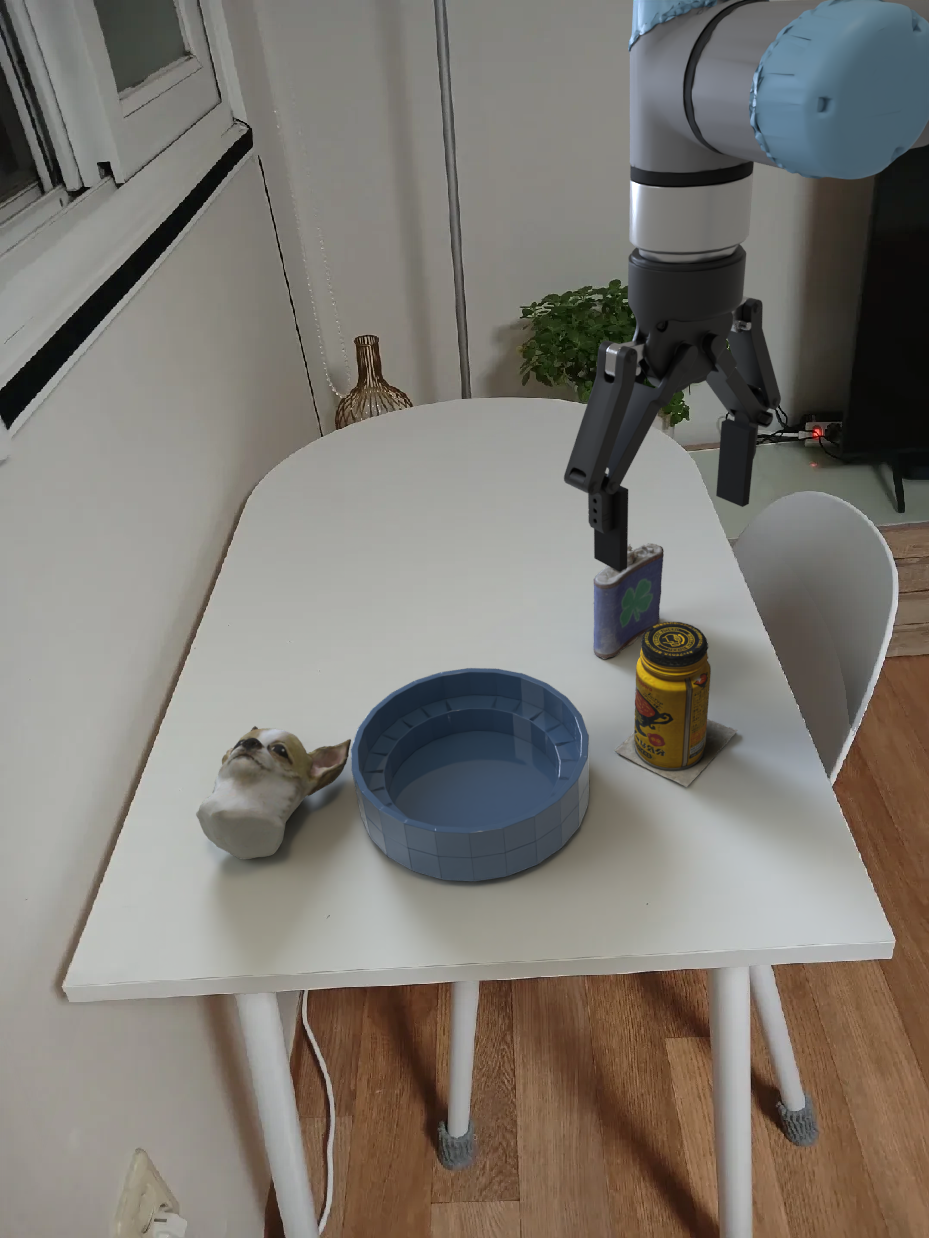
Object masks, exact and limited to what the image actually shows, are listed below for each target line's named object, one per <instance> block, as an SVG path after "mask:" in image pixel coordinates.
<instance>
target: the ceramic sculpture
mask: <svg viewBox="0 0 929 1238" xmlns="http://www.w3.org/2000/svg"><path fill="white" fill-rule="evenodd" d="M351 742H352V738H349V739H347V740H345V741H342V742H341V743H339V744H335V745H328V746H327V745H324V746H320V747H317V748H315V749H314V750H313V751H310V752H307V749H306V748H305V746H304V744H303V743H302V741H301V740H300V739H299V738H298V736H297V735H295V734H294V733H292V732H289V731H287V730H285V729H279V728H276V727H275V728H273V727H272V728H270V727H268V728H267V727H266V728H259V727H258V726H256V725H254V726H253V727H252V728H251V730H250V731H248V732H247V733H246V734H243V736H241V737H240V738H239V740H238V741H237V742H236V744H235V745H234V746H233V747H230V748H229V749H227V750H226V753H225V754H224V755H223V756H222V758H221V766H220V768H219V770H218V773H217V776H216V778H215V780H214V785H213V789H212V793H211V795H209V797H207V798H206V799H204V800H203V801H202V802H201V804H200V805H199V808H198V809H197V811H196V813H195V815H196V818H197V819H198V822H199V824H200V827H201V830H202V832H203V834H204V835H205V836H206V838H207V839H208V840H209V841H210V842H212V843H213V844H214V845H215V846H216V847H217V848H219V849H221V850H222V851H225V852H226V853H228V854H230V855H231V856H234V857H235V858H237V859H239V860H251V859H254V858H264V857H269V856H272V855H274V854H275V853H276V852H277V851H278V849H279V848H280V846H281V845H282V843H283V841H284V836H285V830H286V822H287V821H288V820H289V819H290V817H291V815H292V814H293V812H295V811H296V810H297V808H298V807H299V806H300V805H301V804H302V802H303V800H304V799H306V797H308V796H311V795H313V794H315V793H316V792H318V791H320V790H322V789H324V788H325V787H328V786H329V785H331V784H332V783H334V782H335V781H336V780H337V779H338V778H339V777H340V775H341V774H342V772H343V771H344V769H345V767H346V764H347V763H348V759H349V753H350V749H351V745H352V744H351Z"/></svg>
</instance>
